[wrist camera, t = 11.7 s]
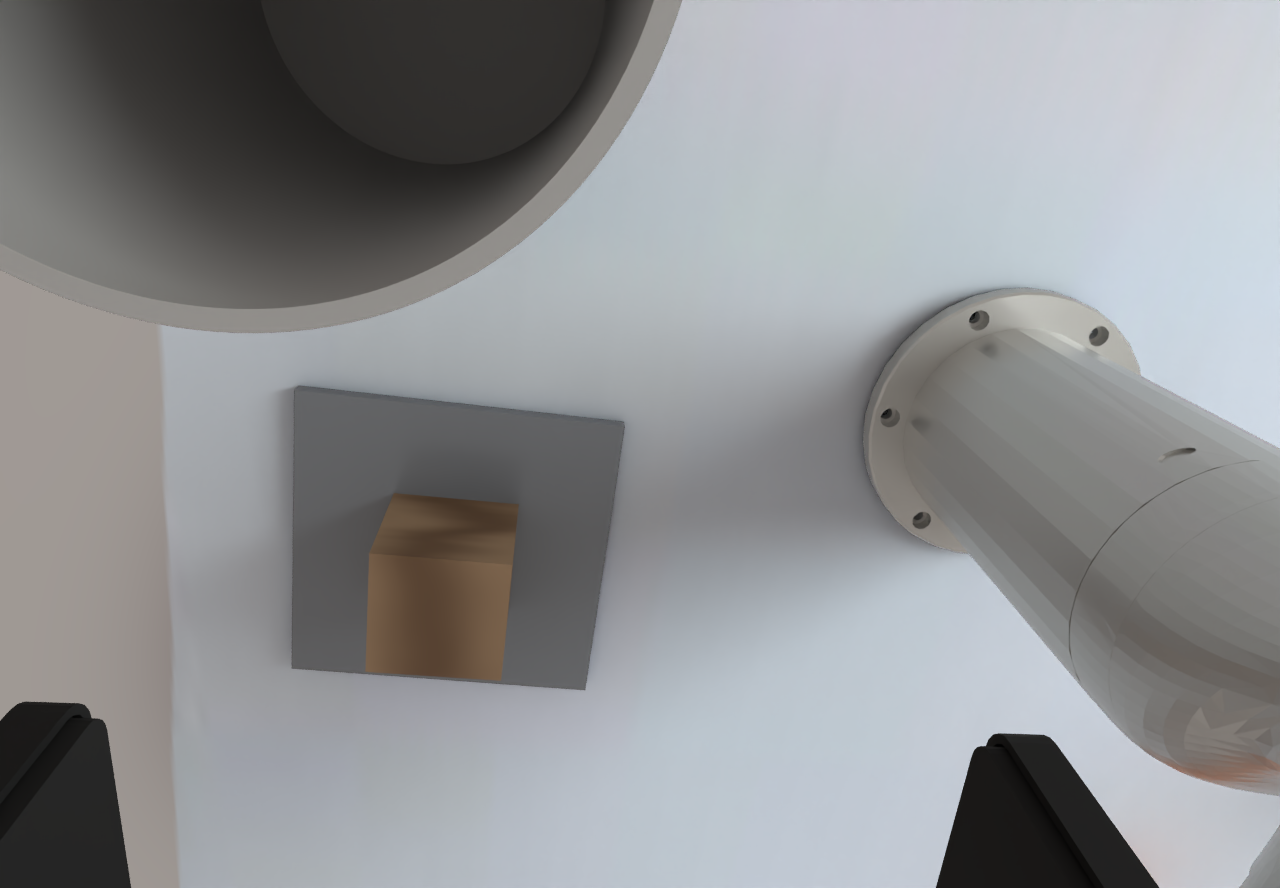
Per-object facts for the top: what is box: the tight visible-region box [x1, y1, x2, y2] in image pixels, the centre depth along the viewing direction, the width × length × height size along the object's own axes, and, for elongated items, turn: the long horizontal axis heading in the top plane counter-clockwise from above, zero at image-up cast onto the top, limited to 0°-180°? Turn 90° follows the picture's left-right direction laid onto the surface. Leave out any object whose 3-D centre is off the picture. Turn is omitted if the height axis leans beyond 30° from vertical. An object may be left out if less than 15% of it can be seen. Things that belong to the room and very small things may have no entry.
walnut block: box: [365, 493, 519, 681], centre depth 39 cm, size 6×6×6 cm
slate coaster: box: [292, 386, 625, 690], centre depth 42 cm, size 14×14×1 cm
